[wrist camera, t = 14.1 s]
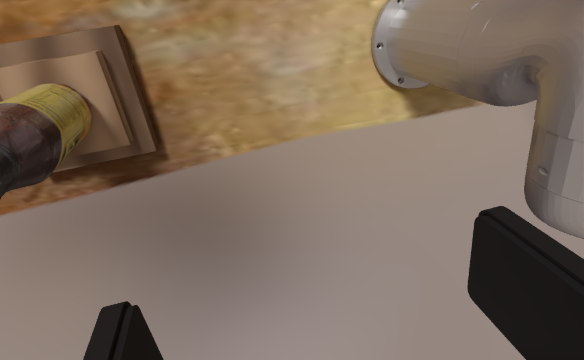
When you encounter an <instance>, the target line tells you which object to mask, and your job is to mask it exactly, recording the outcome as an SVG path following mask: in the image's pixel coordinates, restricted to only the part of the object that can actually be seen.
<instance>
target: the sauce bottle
mask: <svg viewBox="0 0 584 360" xmlns="http://www.w3.org/2000/svg"><path fill="white" fill-rule="evenodd" d="M91 124H92V112H91V108H90V104H89V102H88V101H87V100H86V99H85V97H83V95H81V94H80V93H79V92H78V91H77V90H75V89H73V88H72V87H70V86H68V85H65V84H58V83H51V84H42V85H38V86H36V87H34V88H31V89H28V90H26V91H24V92H22V93H19V94H17V95H15V96H13V97H11V98H8V99H6V100H4V101H2V102H0V199H1V197H2V196H3V195H4V194H5V193H6V192H8V191H10V190H14V189H18V188H22V187H26V186H30V185H35V184H38V183H40V182H42V181H44V180H45V179H46V178H48V177H49V176H50V175H51V174H52V173H53V172H54V171H55V170H56V169H57V167H58V166H59V165H60V164H61V163H62V161H63V160H64V159H65V158H66V157H67V156H68V155H69V154H70V153H71V151H72V150H73V149H74V148H75V147H76V146H77V145H78V144H79V142H80V141H81V140H82V139H83V138H84V137H85V136H86V134H87V133H88V131H89V129H90V126H91Z"/></svg>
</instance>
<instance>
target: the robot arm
mask: <svg viewBox="0 0 584 360" xmlns="http://www.w3.org/2000/svg"><path fill="white" fill-rule="evenodd" d="M377 44H379V47H377ZM371 49H372V55H373V60H374V62H375V65H376V67H377V69H378V70H379V72H380V74H381V75H382V76H383V77H384V78H385V79H386V80H387V81H389V82H391V83H392V84H394V85H396V86H399V87H402V88H407V89H417V88H421V87H425V86H428V85H430V84H431V85H434V86H437V87H440V88H443V89H445V90H448V91H451V92H454V93H457V94H460V95H463V96H466V97H469V98H472V99H474V100H477V101H481V102H484V103H487V104H490V105H495V106H506V107H507V106H516V105H522V104H525V103H529V102H531V101H534V100H537V103H536V110H535V116H534V120H535V122H534V127H533V134H532V139H531V145H530V151H529V157H528V163H527V169H526V176H525V185H524V193H525V199H526V202H527V204H528V206H529V208H530V210H531V211H532V212H533V214H534V215H536V217H538V218H539V219H540V220H541V221H543V222H544V223H546V224H547V225H549V226H551V227H553V228H555V229H557V230H559V231H562V232H564V233H567V234H569V235H573V236H576V237H579V238H583V239H584V0H399V2H397V0H388V1H387V3H386V4H385V5H384V7H383V8H382V9H381V11H380V13H379V15H378V17H377V19H376V22H375V25H374V28H373V33H372V39H371ZM398 79H399V81H398ZM468 293H469V295H470V297H471V299H472V300H473V301H474V303H475V304H476V305H477V306H478V307H479V308H480V309H481V310H482V311H483V313H484V314H485V315H486V316H487V317H488V318H489V319H490V320H491V321H492V322H493V324H494V325H495V326H496V327H497V328H498V329H499V330H500V331H501V332H502V333H503V335H504V336H505V337H506V338H507V339H508V340H509V341H510V342H511V344H512V345H513V346H514V347H515V348H516V349H517V350H518V351H519V352H520V353H521V355H522V356H523V357H524V358H525V359H526V360H584V259H583V258H581V257H579V256H578V255H577V254H575V253H574V252H572V251H570V250H569V249H568V248H566V247H565V246H563V245H562V244H560V243H558V242H557V241H556V240H554V239H553V238H551V237H550V236H548V235H547V234H545V233H544V232H542V231H541V230H539V229H538V228H536V227H535V226H533V225H532V224H530V223H529V222H527V221H526V220H524V219H523V218H521V217H520V216H518V215H517V214H515V213H514V212H512V211H511V210H509V209H508V208H506V207H504V206H498V207H494V208H491V209H487V210H483V211H481V212H480V213H479V216H478V217H477V218H476V219H475V222H474V231H473V240H472V250H471V259H470V268H469V278H468ZM83 360H163V358H162V355H161V353H160V351H159V349H158V347H157V345H156V343H155V340H154V338H153V336H152V334H151V332H150V330H149V328H148V325H147V323H146V321H145V319H144V317H143V315H142V313H141V310H140V308H139V307H138V306H137V305H134V306H131V304H130V303H129V302H127V301H126V302H122V303H118V304H114V305H110V306H106V307H103V308H102V309H101V311H100V313H99V316H98V319H97V322H96V325H95V328H94V331H93V333H92V336H91V339H90V342H89V345H88V347H87V350H86V353H85V356H84V359H83Z"/></svg>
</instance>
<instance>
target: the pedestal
mask: <svg viewBox="0 0 584 360" xmlns="http://www.w3.org/2000/svg"><path fill="white" fill-rule="evenodd" d="M51 83H58V84H65V85H68V86H70V87H72V88H73V89H75V90H77V91H78V92H79V93H80V94H81V95H83V97H85V99H86V100H87V101H88V102H89V104H90V108H91V112H92V124H91V126H90V129H89V131H88V133H87V134H86V136H85V137H84V138H83V139H82V140H81V141H80V142H79V144H78V145H77V146H76V147H75V148H74V149H73V150H72V151H71V153H70V154H69V155H68V156H67V157H66V158H65V159H64V160H63V161H62V163H61V164H60V165H59V166H58V167H57V169H56V170H55V171H54V172H58V171H63V170H68V169H72V168H77V167H82V166H87V165H92V164H96V163H101V162H106V161H111V160H116V159H121V158H125V157H130V156H135V155H140V154H145V153H150V152H154V151H156V150H157V148H158V145H159V144H158V141H157V138H156V135H155V132H154V129H153V126H152V123H151V120H150V117H149V114H148V111H147V108H146V105H145V102H144V99H143V96H142V93H141V90H140V87H139V84H138V81H137V78H136V75H135V72H134V69H133V66H132V63H131V60H130V57H129V54H128V51H127V48H126V45H125V42H124V39H123V36H122V33H121V30H120V27H119V25H115V26H109V27H103V28H97V29H90V30H84V31H78V32H72V33H66V34H60V35H54V36H47V37H41V38H35V39H29V40H23V41H17V42H11V43H4V44H0V102H2V101H4V100H6V99H8V98H11V97H13V96H15V95H17V94H19V93H22V92H24V91H26V90H28V89H31V88H34V87H36V86H38V85H42V84H51Z"/></svg>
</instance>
